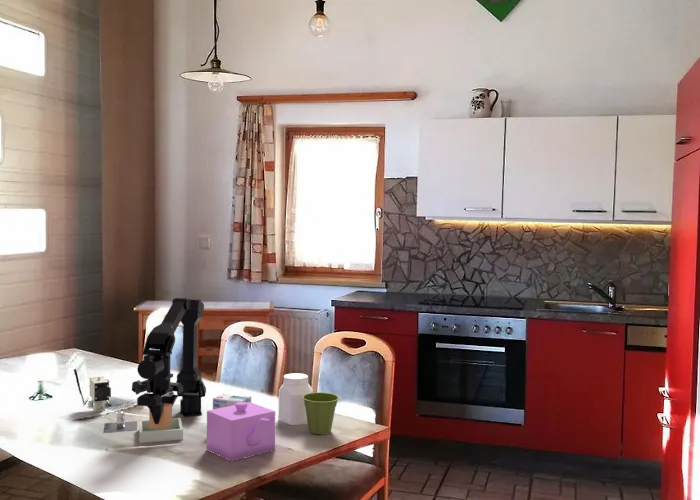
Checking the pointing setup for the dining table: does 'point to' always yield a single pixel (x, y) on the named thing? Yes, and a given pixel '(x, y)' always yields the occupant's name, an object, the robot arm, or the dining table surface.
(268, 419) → the lilac knobbed box
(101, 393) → the pneumatic valve
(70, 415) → the dining table surface
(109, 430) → the stud plate
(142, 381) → the robot arm
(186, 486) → the dining table surface
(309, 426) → the plant pot
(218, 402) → the light bulb box
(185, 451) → the dining table surface
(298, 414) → the jar
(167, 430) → the tray
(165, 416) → the terracotta orange cube
